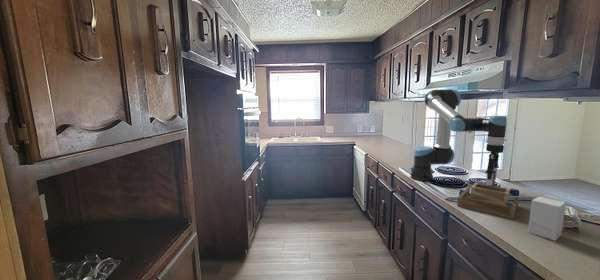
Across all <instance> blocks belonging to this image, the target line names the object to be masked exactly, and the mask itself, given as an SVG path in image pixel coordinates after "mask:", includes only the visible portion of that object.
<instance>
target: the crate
mask: <svg viewBox="0 0 600 280" xmlns="http://www.w3.org/2000/svg"><path fill="white" fill-rule="evenodd" d="M495 174H496V171H495V170H494V171H493V183H492V186H491V185H486V183H485V184H484V183H481V182H480V183H479V182H474V184H472V186H471V188H470V190H471V191H470V193H471V199H476V200H481V201H485V202H490V203H494V204H499V205H503V206H507V203H508V201H509V199H510V193H511V192H510V191H511V189H510V188H506V187H500V186H495V181H496V180H495Z"/></svg>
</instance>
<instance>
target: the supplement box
mask: <svg viewBox="0 0 600 280" xmlns="http://www.w3.org/2000/svg"><path fill="white" fill-rule="evenodd" d="M566 204H567V202H565V201H562V200H557V199H554V198H553V199H552V198H548V197H544V196H537V197H536V198H534V199H532V200H531V205H530V206H531V207H530V215H529V223H528V230H527V231H528V233H530V234H533V235H536V236H539V237H542V238H545V239H547V238H548V239H547V240H551V241H554V242H556V241H557V240H558V239H559V238H560V237H561V236H562V231H563V227H564V218H565V213H566V212H565V211H566Z"/></svg>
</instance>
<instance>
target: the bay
mask: <svg viewBox="0 0 600 280" xmlns="http://www.w3.org/2000/svg"><path fill="white" fill-rule="evenodd" d="M470 190H471V188H470V187H466V188H465V189H464V190H463V191H462V192H461V193H460V195H458V196H457V203H456V205H457V206H456V207H461V208H463V209H464V208H465V209H469V210H474V211H477V212H482V213H485V214H488V215H489V214H490V215H492V216H498V217H501V218H506V219H509V220H515V216H516V212H517V210H518V206H519V197H518V196H514V199H513V201H509V200H508V203H507V206H503V205H499V204H494V203H490V202H485V201H481V200H476V199H471V191H470Z"/></svg>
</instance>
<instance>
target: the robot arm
mask: <svg viewBox="0 0 600 280" xmlns="http://www.w3.org/2000/svg"><path fill="white" fill-rule="evenodd" d="M461 100H462V96H461V94H460V92H459V91H458V90H456V89H450V88H448V89H433V90H430V91H429V92H427V94H426V95H425V97H424V103H425V106H426V107H427V108H429V109H431V110H434V112H435V113H437V114H438V121H437V129H436V139H435V144H433V146H432V147H431V146H423V145H422V146H418V147H416V148H415V149H414V153H413V156H414V157H413V158H414V159H413V167H412V170H411V173H410V179H412V180H416V181H420V182H430V181H429V180H431V179H434V175H433V171H432V165H449V164H451V163H452V162H453V161H454V159H455V152H454V150H453V148H452V146H451V144H450V143H451V142H450V141H451V133H452V132H457V133H460V132H462V133H463V132H485V133H487V137H486V139H487V140H486V147H485V148H486V149H485V150H486V151H487V152H490V154H489V155H488V163H487V168H486V170H485V174H486V179H485V185H491V186H492V183H493V171H494V170H495V171H496V174H495V181H496V180H497V175H498V174H497V173H498V169H500V166H499V157H500V154H501V153H503V152H504V149H505V146H504V144H505V141H507V139H506V133H507V125H508V117H507V116H505V115H490V116H489V118H487V117H474V118H471V117H470V118H468V117H467V118H465V117H464V116H463V115H461V114H460V113H459V112H458V111H457V110H456V109H457V107H458V106H460V104H461V102H462V101H461ZM499 153H500V154H499Z"/></svg>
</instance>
